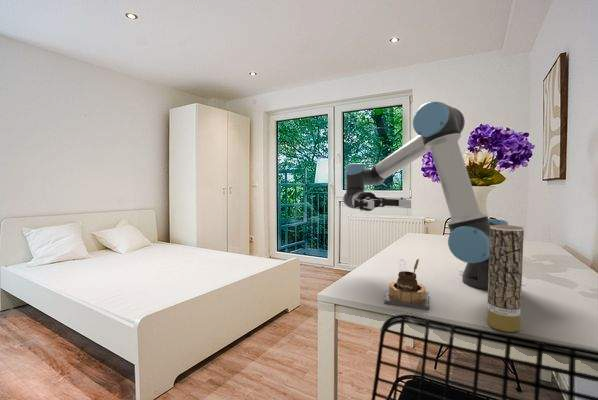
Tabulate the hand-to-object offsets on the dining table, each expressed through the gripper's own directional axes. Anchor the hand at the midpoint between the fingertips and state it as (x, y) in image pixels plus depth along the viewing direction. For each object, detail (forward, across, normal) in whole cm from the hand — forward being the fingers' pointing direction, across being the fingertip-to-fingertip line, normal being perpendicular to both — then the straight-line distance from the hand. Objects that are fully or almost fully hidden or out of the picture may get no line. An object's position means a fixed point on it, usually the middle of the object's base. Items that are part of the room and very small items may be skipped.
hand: (392, 204), depth 103 cm
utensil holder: (+10, 0, -28) cm, 29 cm away
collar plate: (+10, 0, -28) cm, 30 cm away
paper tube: (+32, -12, -29) cm, 45 cm away
